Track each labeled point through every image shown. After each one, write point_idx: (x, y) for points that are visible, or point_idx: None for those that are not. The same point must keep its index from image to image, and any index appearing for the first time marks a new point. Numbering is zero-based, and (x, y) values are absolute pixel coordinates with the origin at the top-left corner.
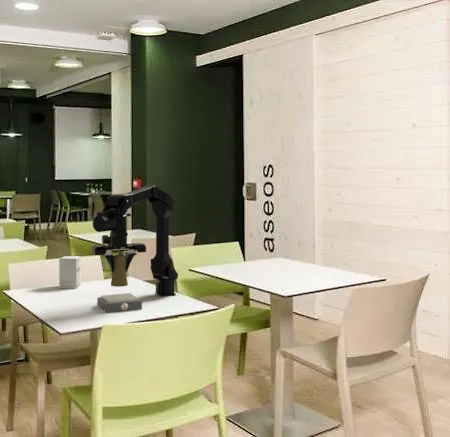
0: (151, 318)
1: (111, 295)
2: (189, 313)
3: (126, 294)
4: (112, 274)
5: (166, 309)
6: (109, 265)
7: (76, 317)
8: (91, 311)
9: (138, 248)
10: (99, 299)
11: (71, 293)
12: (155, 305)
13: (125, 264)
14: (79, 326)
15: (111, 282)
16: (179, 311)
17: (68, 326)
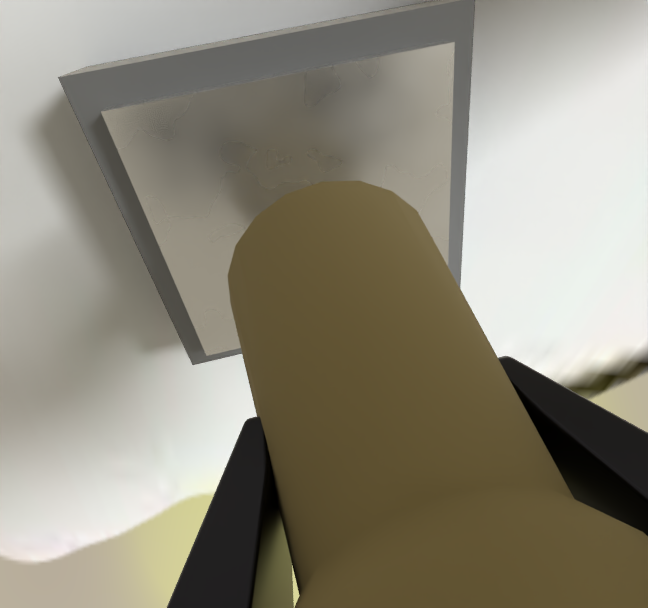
0: None
1: (233, 133)
2: (600, 378)
3: (399, 118)
4: (256, 408)
5: (557, 297)
6: (192, 585)
7: (11, 403)
8: (77, 277)
9: None
10: (104, 173)
11: None
12: (557, 181)
13: (587, 491)
14: (85, 521)
15: (236, 327)
16: (587, 342)
17: (28, 523)
